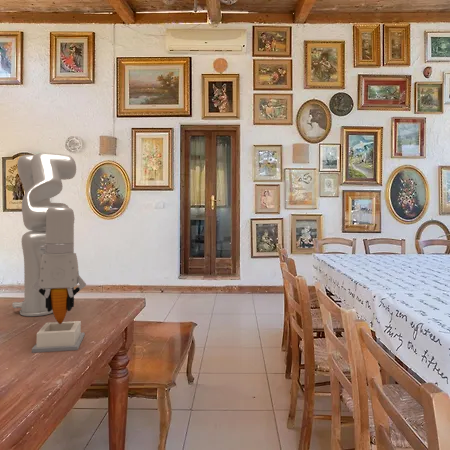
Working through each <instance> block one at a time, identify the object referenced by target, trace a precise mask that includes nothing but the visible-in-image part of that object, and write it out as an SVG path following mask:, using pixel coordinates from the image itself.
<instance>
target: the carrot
mask: <svg viewBox="0 0 450 450" xmlns="http://www.w3.org/2000/svg"><path fill="white" fill-rule="evenodd" d="M68 297H69V293H68V290H67V288H59V289H51V305H52V310H53V313H52V314H53V316H54V318H55V320H56V322H58V323H59V324H61V323H62V322H64V320H65V319H66V315H67V313H68V311H67V298H68Z"/></svg>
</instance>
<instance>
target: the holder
mask: <svg viewBox="0 0 450 450" xmlns="http://www.w3.org/2000/svg"><path fill="white" fill-rule="evenodd" d="M81 325H82V323H81V320H77V321H74V320H73V321H63V322H62V323H61V324H59V323H58V322H57V321H55V322H45V323H44V325H42V327H41V328H39V331H37V333H36V343H35V344H34V346H32V348H31V353H33V354H34V353H47V352H63V351H64V352H65V351H77V350H78V351H79V349H80V346H81V344H82V342H83V339H84V338H85V332H81V331H82V327H81Z"/></svg>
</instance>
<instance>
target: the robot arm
mask: <svg viewBox="0 0 450 450" xmlns="http://www.w3.org/2000/svg"><path fill="white" fill-rule="evenodd" d="M17 173H18V176H19V179H20V183H22V187H23V190H24V195H23V197H22V200H21V213H22V220H23V222H22V223H23V225H24V227H25V228H26V229H27V230H29V231H27V232H24V234H23V235H22V237H21V249H22V254H23V264H24V265H23V267H24V268H23V270H24V272H23V273H24V274H23V275H24V277H23V279H24V282H23V283H24V285H23V286H24V287H23V289H24V290H23V292H24V295H23V296H24V297H23V298H24V299H23V300H22V301H20V302H19V301H13V302H12V308H13V309H20V310H19V315H21V316H23V317H40V316H46V315H50V314H53V310H52V305H51V289H59V288H67V290H68V293H69V297H68V298H67V312H70V311H71V310H72V309H73V308H74V307H75V296H76V295H77V294H78V293H79V292H80V291H81V290H82V289H85V287H86V286H87V283H86V282H85V280H83V278H82V277H81V276H80V272H79V262H78V256H77V253H75V251H74V249H75V235H74V234H75V232H74V231H75V229H74V228H75V214H74V209H72V208H70V207H69V205H68V204H67V203H62V202H51V200H50V199H53V198H54V197H57V196H58V195H59V194H61V192H62V190H63V182H62V180H63V181H64V180H71V179H73V178H75V176H76V175H77V174H76V173H77V164H76V162H75V159H74V158H73V157H72V156H71V155H67V154H59V153H51V152H50V153H49V152H38V153H36V154H24V155H22V156H19V158H18V159H17ZM78 284H79V285H78ZM77 285H78V286H77ZM75 287H76V288H75Z"/></svg>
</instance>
